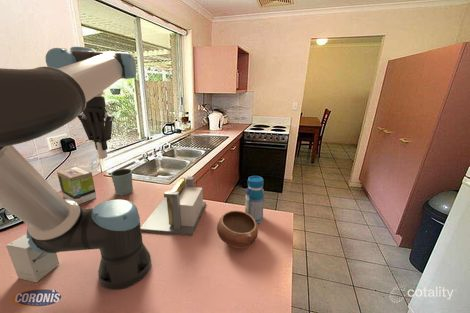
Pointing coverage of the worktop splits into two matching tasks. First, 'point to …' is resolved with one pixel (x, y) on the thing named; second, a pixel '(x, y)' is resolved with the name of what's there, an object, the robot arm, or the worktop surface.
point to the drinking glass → (122, 181)
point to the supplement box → (30, 260)
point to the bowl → (237, 229)
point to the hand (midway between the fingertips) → (103, 157)
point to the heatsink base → (163, 222)
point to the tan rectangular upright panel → (179, 188)
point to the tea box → (77, 184)
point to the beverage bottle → (255, 198)
